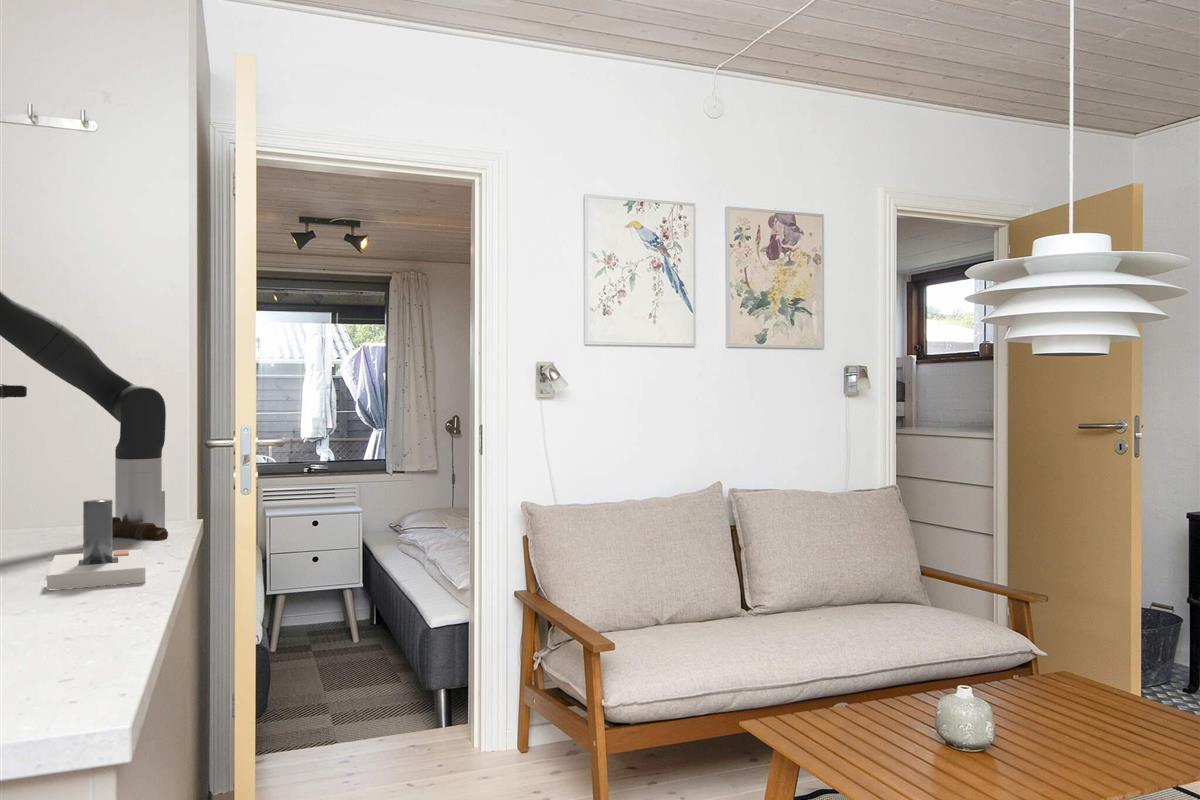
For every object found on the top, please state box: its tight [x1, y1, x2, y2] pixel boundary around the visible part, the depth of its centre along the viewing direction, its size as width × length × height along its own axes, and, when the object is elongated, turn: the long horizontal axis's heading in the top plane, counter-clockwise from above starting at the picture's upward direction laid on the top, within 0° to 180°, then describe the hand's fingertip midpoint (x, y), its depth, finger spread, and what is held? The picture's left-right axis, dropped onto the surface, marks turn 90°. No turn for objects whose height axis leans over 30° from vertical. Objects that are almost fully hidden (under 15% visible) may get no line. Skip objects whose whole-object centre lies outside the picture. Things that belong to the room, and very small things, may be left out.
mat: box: [46, 549, 83, 562], centre depth 168 cm, size 10×10×1 cm
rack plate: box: [46, 548, 146, 591], centre depth 153 cm, size 20×14×3 cm
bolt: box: [112, 516, 169, 541], centre depth 189 cm, size 6×5×15 cm
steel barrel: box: [82, 498, 113, 565], centre depth 153 cm, size 4×4×13 cm
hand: (14, 391), depth 162 cm, fingers open, 8 cm apart
